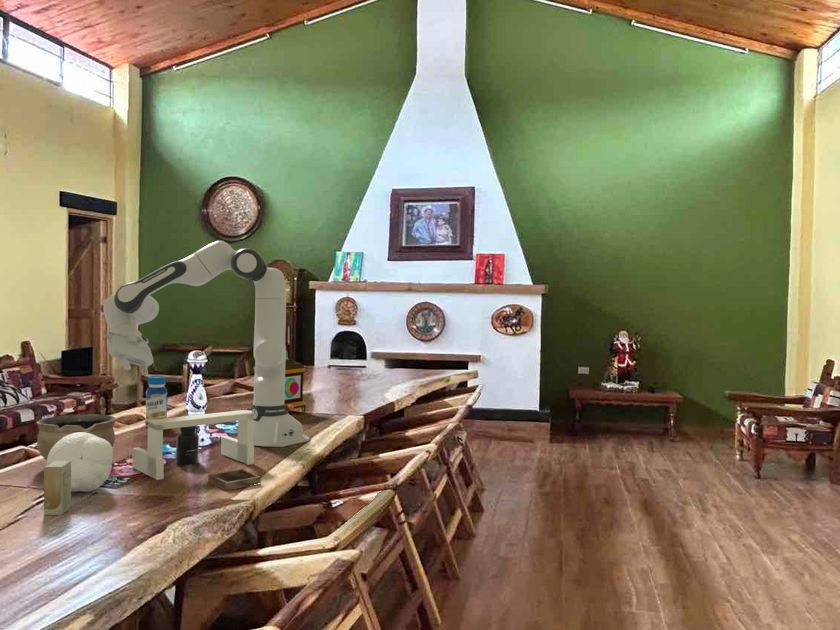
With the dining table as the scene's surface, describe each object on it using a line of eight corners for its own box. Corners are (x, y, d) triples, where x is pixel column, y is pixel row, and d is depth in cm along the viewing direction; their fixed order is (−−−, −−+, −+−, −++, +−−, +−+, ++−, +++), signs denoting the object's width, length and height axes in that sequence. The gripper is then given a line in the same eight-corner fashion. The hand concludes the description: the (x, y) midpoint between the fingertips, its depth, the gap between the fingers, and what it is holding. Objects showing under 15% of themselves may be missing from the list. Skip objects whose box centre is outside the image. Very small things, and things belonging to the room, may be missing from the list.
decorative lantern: (310, 412, 328) (311, 346, 327) (279, 418, 311) (281, 349, 310) (277, 407, 339) (279, 343, 337) (246, 413, 322) (247, 346, 321)
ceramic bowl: (35, 478, 208) (35, 427, 207) (36, 461, 227) (36, 414, 227) (118, 471, 218) (118, 422, 218) (112, 455, 238) (112, 410, 237)
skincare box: (53, 507, 183) (54, 459, 182) (71, 507, 183) (72, 460, 183) (42, 515, 177) (43, 466, 176) (61, 515, 177) (61, 466, 176)
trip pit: (241, 476, 217) (241, 469, 217) (260, 484, 209) (260, 476, 209) (208, 482, 210) (208, 474, 210) (226, 490, 202) (226, 483, 202)
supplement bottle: (191, 465, 228) (192, 428, 227) (171, 464, 229) (172, 426, 229) (202, 460, 235) (202, 424, 234) (183, 459, 236) (183, 422, 235)
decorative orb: (70, 479, 209) (70, 424, 208) (130, 481, 208) (131, 427, 207) (30, 499, 189) (31, 439, 188) (97, 502, 188) (97, 441, 188)
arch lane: (226, 453, 246) (227, 405, 245) (253, 463, 233) (254, 413, 232) (132, 467, 224) (133, 414, 223) (156, 479, 211) (157, 424, 210)
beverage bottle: (171, 424, 291) (171, 375, 290) (161, 428, 282) (162, 378, 282) (151, 423, 292) (151, 374, 291) (140, 427, 283) (141, 377, 283)
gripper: (113, 325, 240) (125, 361, 235) (150, 339, 259) (161, 373, 254) (98, 334, 240) (109, 370, 236) (136, 348, 259) (146, 381, 255)
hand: (136, 372), depth 245 cm, fingers open, 8 cm apart
